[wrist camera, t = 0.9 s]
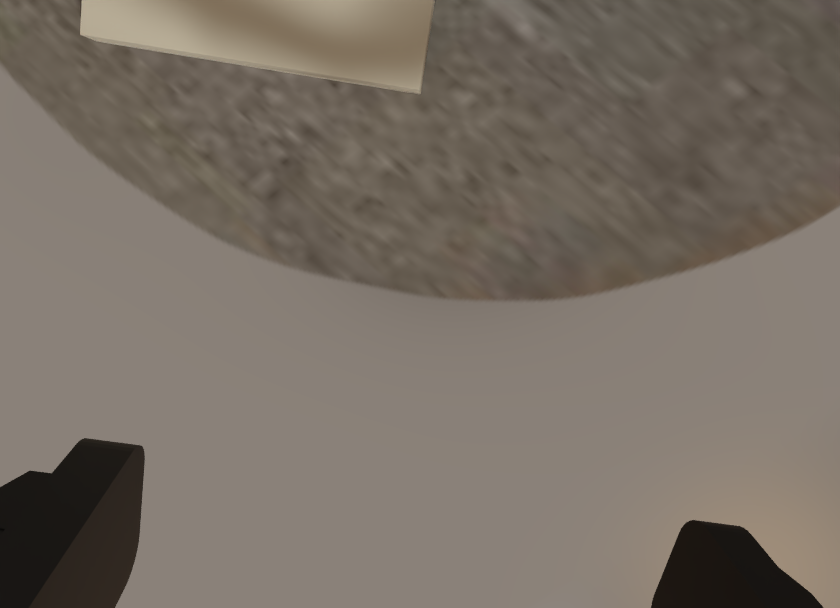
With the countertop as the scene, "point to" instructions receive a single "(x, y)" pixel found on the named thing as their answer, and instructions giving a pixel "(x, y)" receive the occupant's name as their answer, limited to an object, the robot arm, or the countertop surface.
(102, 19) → the collar board
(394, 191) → the countertop surface
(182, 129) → the countertop surface
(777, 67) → the countertop surface
